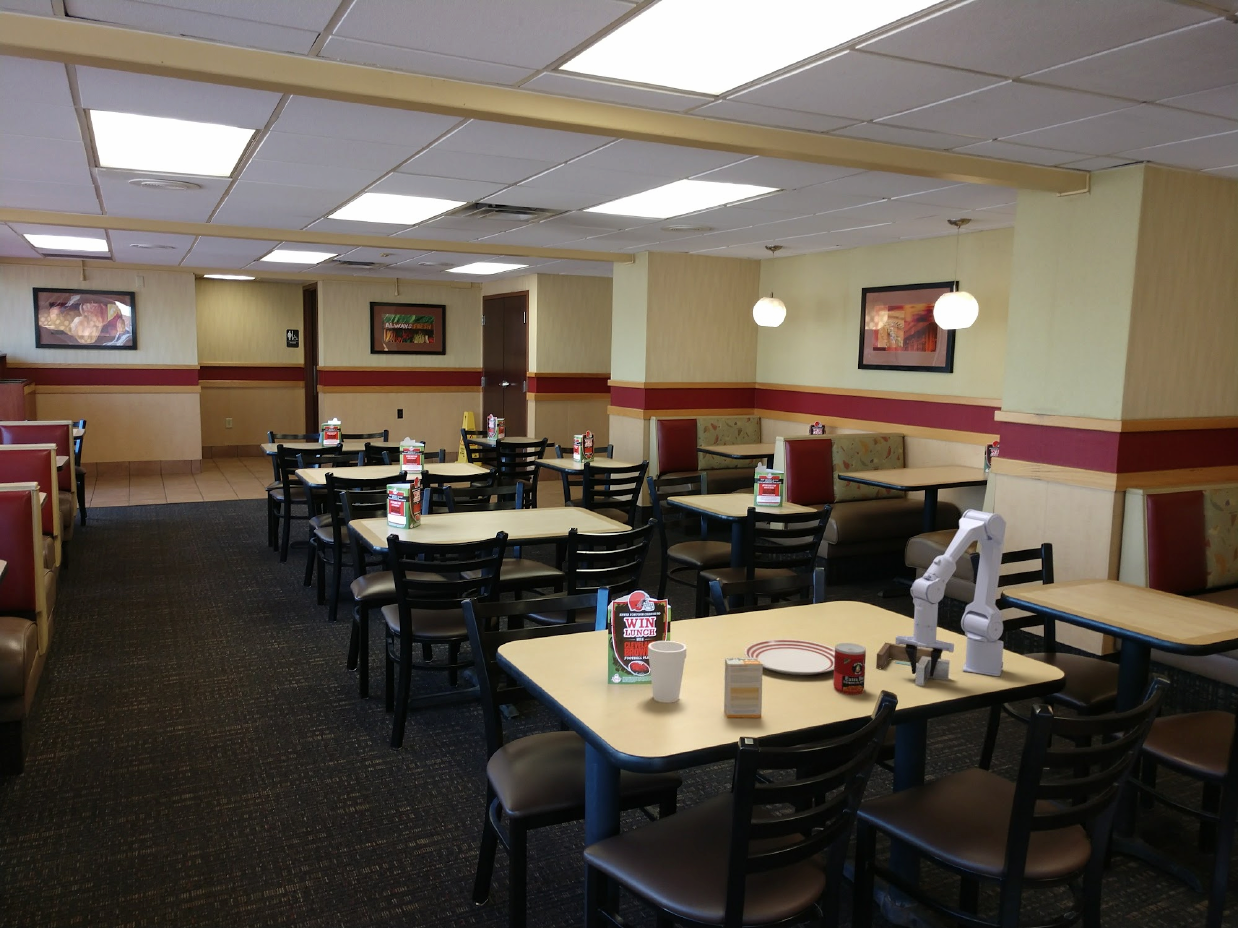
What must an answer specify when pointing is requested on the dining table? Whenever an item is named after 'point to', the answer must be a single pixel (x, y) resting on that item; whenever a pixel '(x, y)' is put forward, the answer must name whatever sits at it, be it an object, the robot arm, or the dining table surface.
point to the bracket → (924, 670)
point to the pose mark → (903, 663)
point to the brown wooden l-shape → (898, 654)
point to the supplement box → (743, 688)
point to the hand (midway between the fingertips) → (922, 674)
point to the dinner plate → (793, 656)
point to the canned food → (849, 668)
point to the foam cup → (666, 669)
